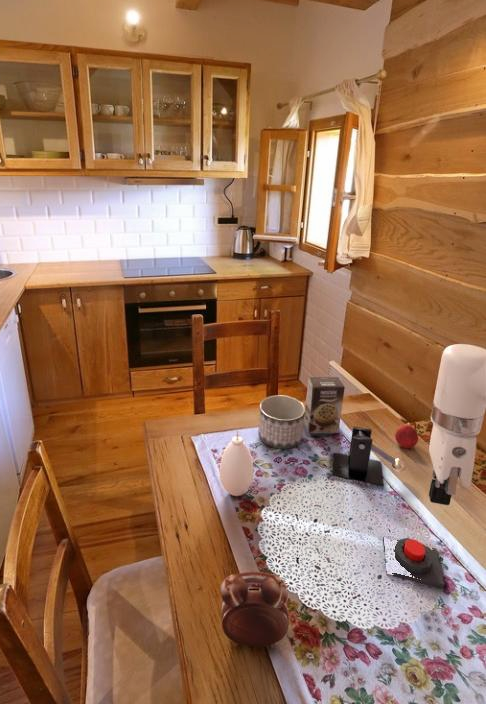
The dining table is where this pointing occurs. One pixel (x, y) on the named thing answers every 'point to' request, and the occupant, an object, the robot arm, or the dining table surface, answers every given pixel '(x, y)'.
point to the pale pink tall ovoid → (236, 467)
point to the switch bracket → (358, 461)
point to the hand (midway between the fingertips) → (438, 500)
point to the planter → (281, 421)
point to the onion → (406, 436)
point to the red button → (414, 550)
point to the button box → (420, 566)
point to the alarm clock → (254, 609)
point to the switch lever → (386, 456)
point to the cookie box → (323, 404)
